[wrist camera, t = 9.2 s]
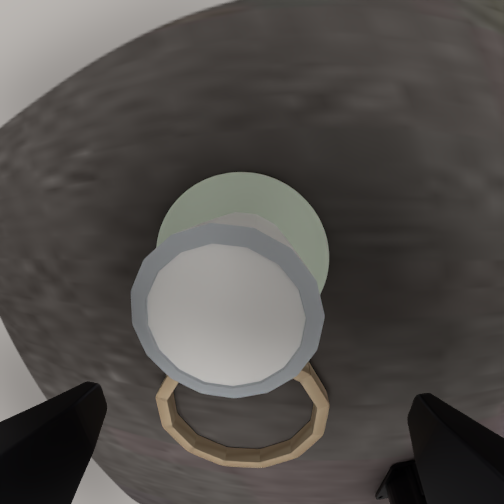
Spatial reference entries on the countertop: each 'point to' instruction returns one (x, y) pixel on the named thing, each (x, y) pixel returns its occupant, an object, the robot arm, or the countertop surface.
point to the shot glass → (228, 307)
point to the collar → (244, 455)
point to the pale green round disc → (254, 202)
